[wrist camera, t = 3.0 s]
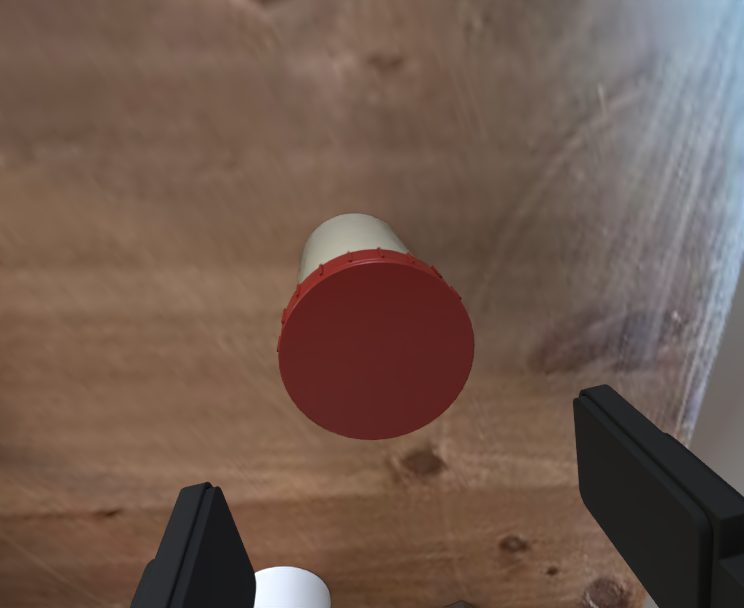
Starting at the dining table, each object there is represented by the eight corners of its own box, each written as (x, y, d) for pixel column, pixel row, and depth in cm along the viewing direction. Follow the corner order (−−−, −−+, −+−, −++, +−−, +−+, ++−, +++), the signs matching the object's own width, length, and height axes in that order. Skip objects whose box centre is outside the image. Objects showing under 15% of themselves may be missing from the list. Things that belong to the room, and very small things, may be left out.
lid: (380, 206, 17) (387, 215, 15) (496, 337, 19) (513, 357, 17) (240, 335, 18) (233, 356, 16) (366, 444, 20) (370, 473, 18)
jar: (357, 189, 26) (384, 231, 16) (428, 268, 28) (493, 351, 18) (277, 264, 27) (253, 350, 17) (351, 336, 29) (370, 452, 19)
